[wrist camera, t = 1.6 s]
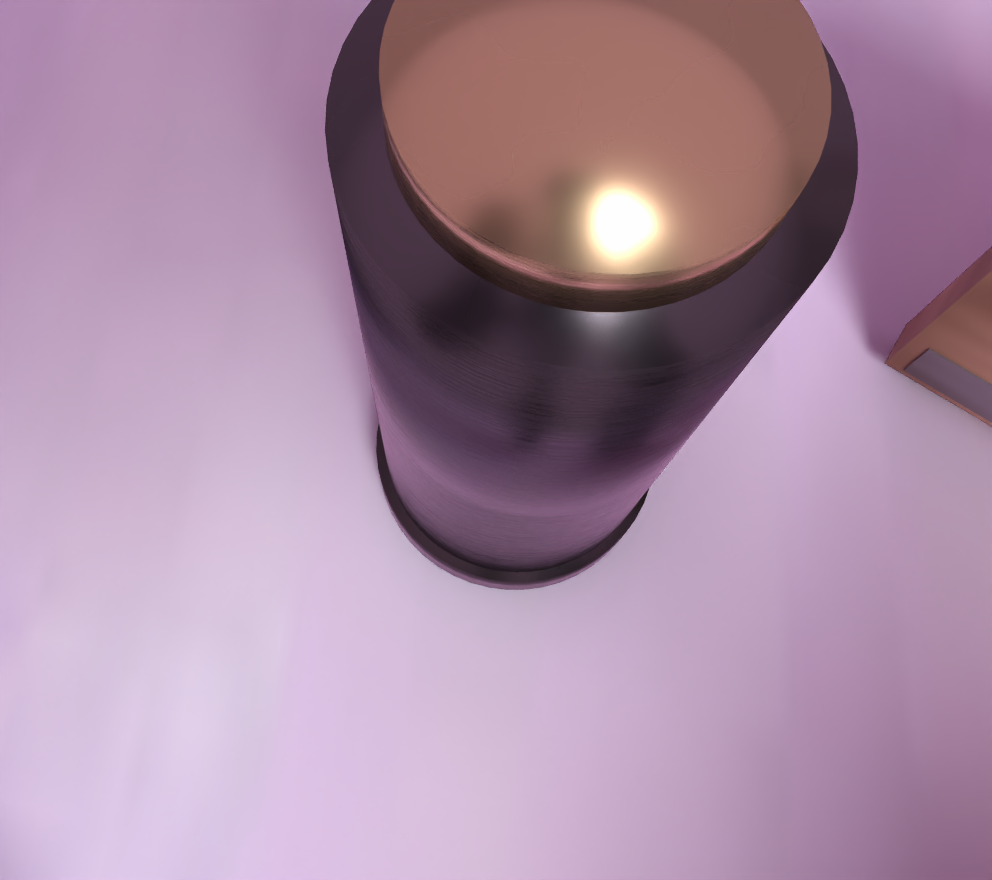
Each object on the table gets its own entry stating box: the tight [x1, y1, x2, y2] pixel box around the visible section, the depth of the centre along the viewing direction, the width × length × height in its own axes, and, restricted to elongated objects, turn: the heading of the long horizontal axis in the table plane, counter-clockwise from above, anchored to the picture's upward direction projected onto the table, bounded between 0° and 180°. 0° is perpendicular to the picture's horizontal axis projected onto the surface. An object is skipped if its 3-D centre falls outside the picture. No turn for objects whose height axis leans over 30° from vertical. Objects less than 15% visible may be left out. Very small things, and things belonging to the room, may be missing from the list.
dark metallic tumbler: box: [325, 0, 858, 590], centre depth 15 cm, size 6×6×13 cm
